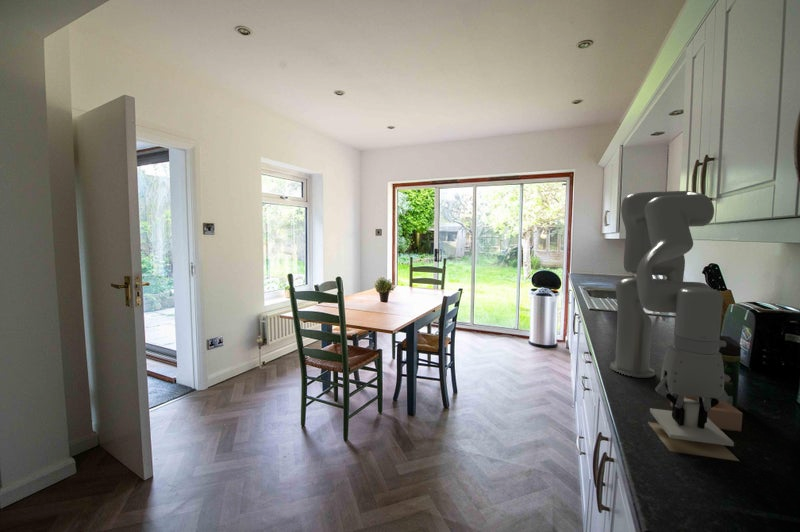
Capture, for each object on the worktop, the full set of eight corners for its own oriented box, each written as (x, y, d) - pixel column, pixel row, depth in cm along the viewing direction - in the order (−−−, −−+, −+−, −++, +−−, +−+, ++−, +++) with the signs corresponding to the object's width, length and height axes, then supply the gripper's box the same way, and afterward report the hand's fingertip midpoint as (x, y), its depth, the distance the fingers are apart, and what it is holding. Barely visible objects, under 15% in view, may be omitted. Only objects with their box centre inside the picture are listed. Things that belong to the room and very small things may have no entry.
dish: (670, 407, 93) (671, 389, 92) (715, 412, 90) (717, 394, 90) (689, 427, 83) (690, 407, 83) (740, 434, 81) (742, 413, 80)
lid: (649, 411, 85) (651, 387, 84) (704, 417, 82) (706, 393, 81) (670, 437, 74) (672, 411, 74) (733, 446, 71) (736, 418, 71)
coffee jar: (696, 393, 101) (701, 330, 100) (734, 401, 96) (739, 335, 95) (697, 406, 94) (702, 338, 92) (738, 415, 89) (744, 344, 87)
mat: (647, 424, 85) (647, 421, 85) (706, 431, 82) (706, 429, 82) (669, 453, 74) (669, 450, 73) (739, 463, 70) (740, 461, 70)
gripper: (730, 341, 77) (723, 420, 79) (644, 336, 82) (639, 410, 84) (754, 353, 70) (744, 439, 72) (658, 347, 75) (652, 427, 77)
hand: (688, 422), depth 78 cm, fingers closed on lid, 3 cm apart
